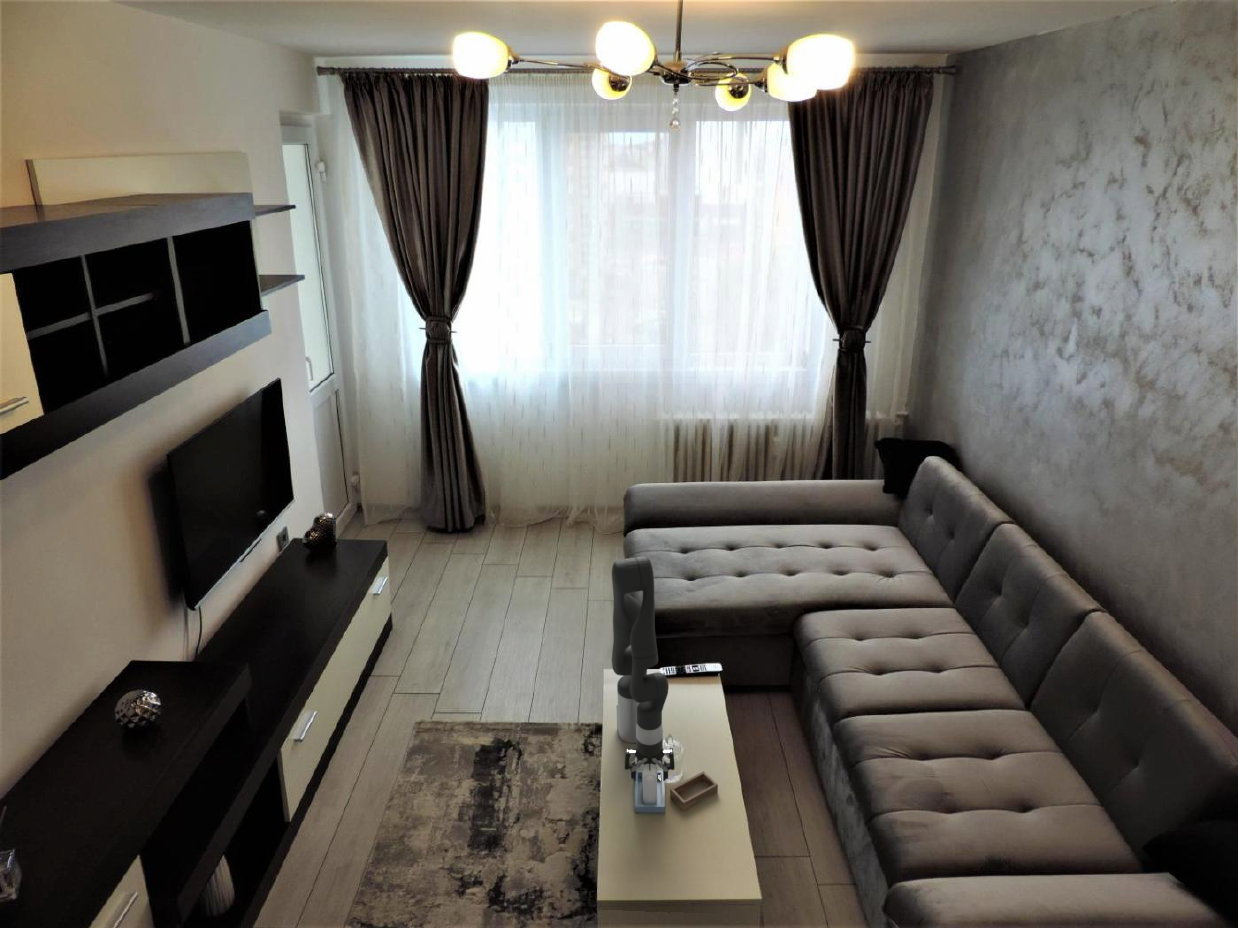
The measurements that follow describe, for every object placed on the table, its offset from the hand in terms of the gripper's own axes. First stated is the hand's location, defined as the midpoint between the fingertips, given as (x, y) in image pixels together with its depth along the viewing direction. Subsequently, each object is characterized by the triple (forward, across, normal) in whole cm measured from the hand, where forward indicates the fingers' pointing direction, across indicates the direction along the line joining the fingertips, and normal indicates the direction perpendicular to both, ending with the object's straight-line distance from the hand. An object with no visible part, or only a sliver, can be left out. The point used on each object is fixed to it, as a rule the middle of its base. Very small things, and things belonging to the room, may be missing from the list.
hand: (649, 778), depth 251 cm
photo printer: (+6, 0, 0) cm, 6 cm away
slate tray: (+6, 0, 0) cm, 6 cm away
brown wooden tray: (+6, +13, 0) cm, 14 cm away
